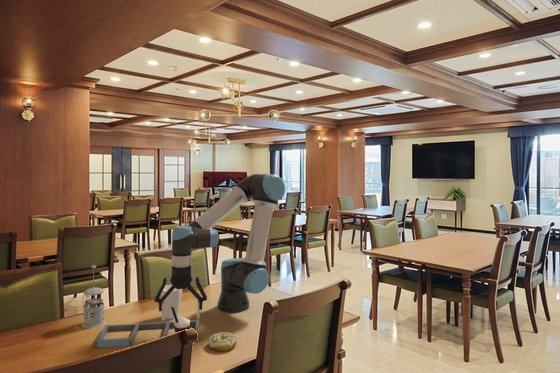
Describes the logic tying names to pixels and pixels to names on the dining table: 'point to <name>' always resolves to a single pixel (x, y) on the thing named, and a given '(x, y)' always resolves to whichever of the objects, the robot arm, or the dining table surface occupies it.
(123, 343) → the organizer
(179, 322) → the cocoa
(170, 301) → the foam cup
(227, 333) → the decorated donut
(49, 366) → the dining table surface
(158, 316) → the dining table surface
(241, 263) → the robot arm
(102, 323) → the french press
